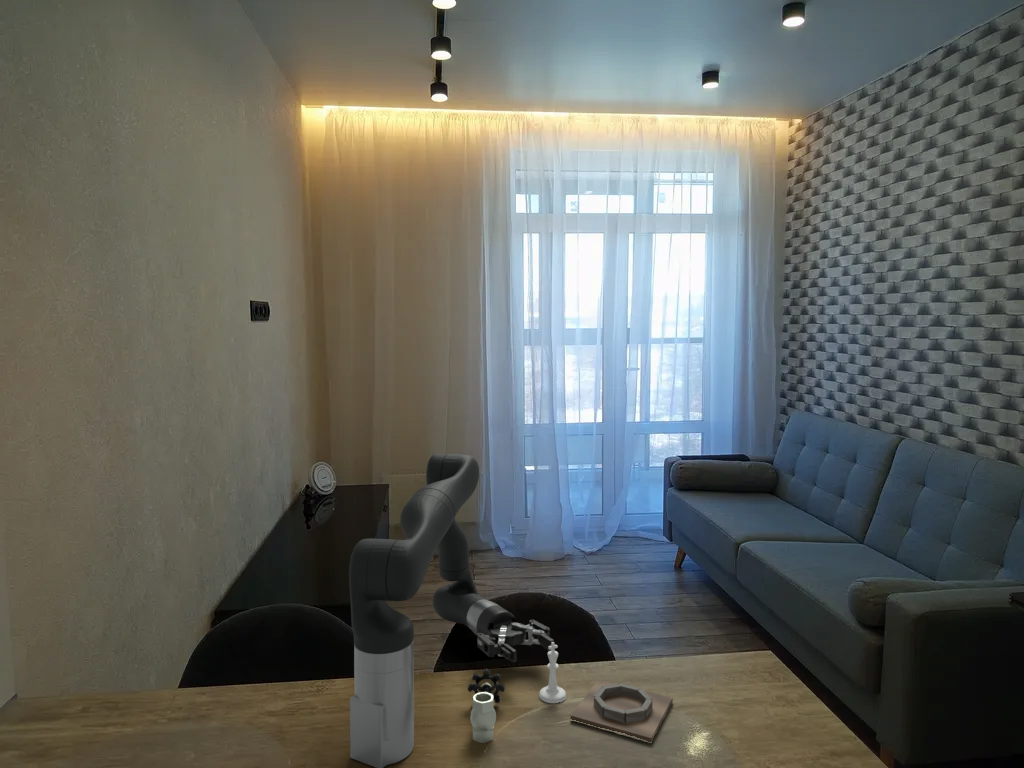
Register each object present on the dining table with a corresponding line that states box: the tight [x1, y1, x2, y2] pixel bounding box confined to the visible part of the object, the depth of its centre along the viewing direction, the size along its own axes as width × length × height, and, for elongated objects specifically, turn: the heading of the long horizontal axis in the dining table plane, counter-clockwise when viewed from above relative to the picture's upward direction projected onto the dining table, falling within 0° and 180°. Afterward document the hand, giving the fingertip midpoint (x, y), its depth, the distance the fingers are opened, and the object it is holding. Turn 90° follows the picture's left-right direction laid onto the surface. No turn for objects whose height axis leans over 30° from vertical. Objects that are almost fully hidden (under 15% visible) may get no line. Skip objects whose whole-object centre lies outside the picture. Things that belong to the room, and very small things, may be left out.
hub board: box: [569, 679, 674, 743], centre depth 111 cm, size 14×14×2 cm
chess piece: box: [539, 641, 567, 704], centre depth 117 cm, size 5×5×10 cm
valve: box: [467, 667, 506, 744], centre depth 108 cm, size 7×7×12 cm
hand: (534, 651), depth 122 cm, fingers open, 8 cm apart
